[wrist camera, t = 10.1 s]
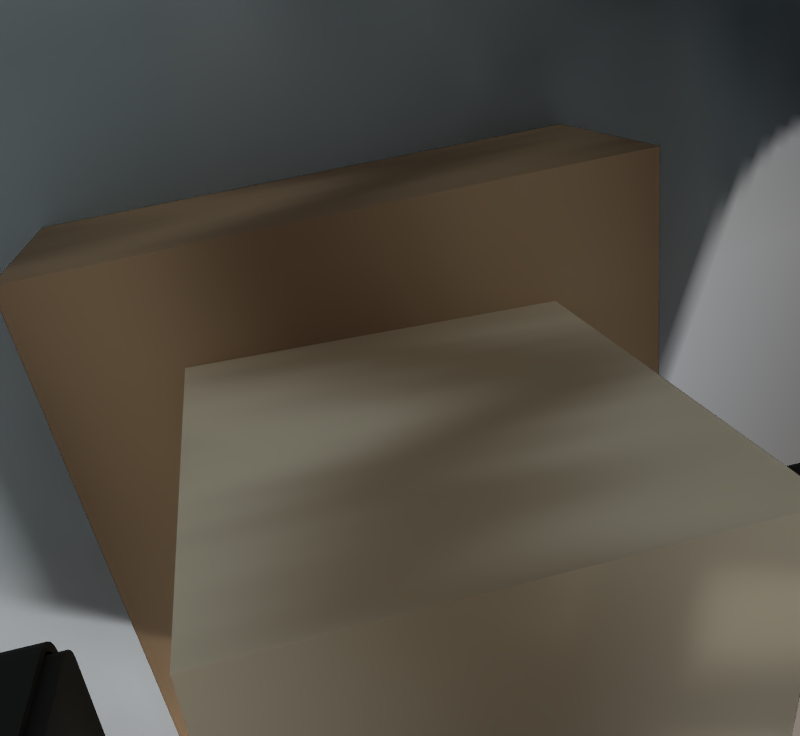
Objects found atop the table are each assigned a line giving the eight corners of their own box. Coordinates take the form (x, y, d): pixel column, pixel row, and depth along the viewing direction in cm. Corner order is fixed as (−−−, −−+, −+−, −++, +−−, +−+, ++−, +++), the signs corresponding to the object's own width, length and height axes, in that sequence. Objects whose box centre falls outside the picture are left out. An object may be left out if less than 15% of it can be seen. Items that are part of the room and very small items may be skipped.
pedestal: (551, 121, 15) (659, 146, 11) (573, 512, 19) (656, 618, 16) (46, 222, 13) (-10, 286, 10) (194, 622, 18) (192, 767, 14)
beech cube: (555, 300, 12) (837, 503, 7) (555, 582, 15) (760, 892, 9) (185, 368, 11) (169, 673, 6) (255, 660, 13) (290, 1061, 8)
